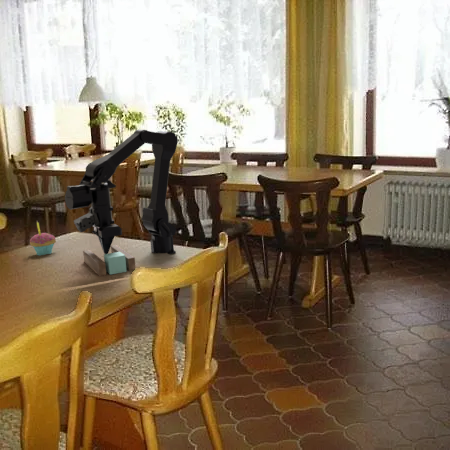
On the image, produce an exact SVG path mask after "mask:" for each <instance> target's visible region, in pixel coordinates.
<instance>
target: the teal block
mask: <svg viewBox="0 0 450 450" xmlns="http://www.w3.org/2000/svg"><path fill="white" fill-rule="evenodd" d="M103 261H104V262H105V267H106V273H107V274H109V275H115V274H121V273H127V269H126V260H125V255H124V254H123V253H121V252H115V253H111V252H108V254H104V253H103Z"/></svg>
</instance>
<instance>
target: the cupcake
mask: <svg viewBox="0 0 450 450" xmlns="http://www.w3.org/2000/svg"><path fill="white" fill-rule="evenodd" d="M36 227H37V231H38V233H37V234H34V235H33V236H32V237H31V238H30V240H29V244H30V246H31V247H33V249H34V251H35V254H36V255H37V256H44V255H51V254H52V252H53V247H54V245H55V243H57V241H56V239H57V238H56V237H55V235H53V234H51V233H49V232H41V228H40V223H39V222H38V220H36Z"/></svg>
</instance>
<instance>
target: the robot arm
mask: <svg viewBox="0 0 450 450" xmlns="http://www.w3.org/2000/svg"><path fill="white" fill-rule="evenodd" d="M178 139H179V138H178V136H177V135H176V133H174V132H172V131H162V130H159V131H150V130H148V129H141V128H139V129H136V130H135V131H134V132H133V133H132V134H131V135H130V136H129V137H127V138H126V139H125V140H123V141H122V142H121V143H120V144H119V145H118V146H117V147H115V148H114V149H113V150H111V151H110V152H109V153H107V154H106V155H104V156H102V157H99V158H96V159H95V160H93V161H90V162H89V163H88V164H87V165H86V167H85V173H84V175H83V177H82V179H81V180H80V182H79V185H67V186H66V191H65V195H64V203H65V205H66V207H67V208H68V209H69V210H75V209H80V208H87V207H90V208H89V209H88V210H89V212H88V213H86V214H84V215H82V216H79V217H78V218H75V219H74V220H73V224H74V225H75V227H76V229H77V231H79V233H83V232H85V231H87V229H91V227H93V230H91V233H93V234H94V235H95V236H96V237H97V238H98V240H99V244H100V247H101V249H102V252H103V255H104V254H109V253H110V250H111V246H112V243H113V241H114V238H115V237H117V236H118V237H119V236H122V235H123V228H122V227H121V226H119V225H117V224H116V223H115V219H113V213H112V211H114V207H113V206H112V202H111V192H110V189H115V188H116V187H117V186H116V184H115V183H113V182H112V181H111V180H110V179H111V178H112V177H113V175H114V174H115V173H116V171H117V168H118V167H119V166H120V165H121V164H122V163H124V161H126V159H128V158H129V157H130V156H131V155H133V154H134V153H135V152H137V151H138V149H140V148H141V147H143V146H144V145H145V144H149V145H151V151H152V154H153V156H154V166H153V175H152V186H151V195H150V202H149V205H148V206H147V208H146V207H142V218H141V220H142V225H143V226H144V227H145V229H147V231H148V234H151V239H150V250H151V253H153V254H168V255H171V254H176V253H177V251H176V250H174V249H175V247H174V237H173V236H175V235H176V232H177V228H176V227H174V225H173V224H171V223H170V222H169V212H168V209H167V206H166V202H167V194H168V193H167V192H168V184H169V175H170V164H171V160H172V158H173V156H174V155H175V153H176V152H177V146H178V144H179V143H178V142H179V140H178ZM90 205H91V206H90Z"/></svg>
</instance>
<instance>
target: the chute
mask: <svg viewBox="0 0 450 450" xmlns="http://www.w3.org/2000/svg"><path fill="white" fill-rule="evenodd" d="M110 251H111V252H110V253H115V252H121V253H123V254H124V255H125V260H126V270H128V271H135V270H134V269H135V268H136V267H137V266H136V258H135V256H133V255H132V254H130V253H129V252H127V251H126V250H125V249H123V248H122V246H121V247H120V245H117V244H114V245H111V247H110ZM82 253H83V262H84V263H85V264H86V265H87V266H88V267H89V268H90V269H91V270H92V271H94V272H95V273H96V274H97V275H98V276H99V277H104V276H107V271H106V267H105V262H104V259H102V258H100V257H99V256H98V255H97V254H95V253H94V252H93V251H92V250H91V249H83V250H82Z"/></svg>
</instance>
